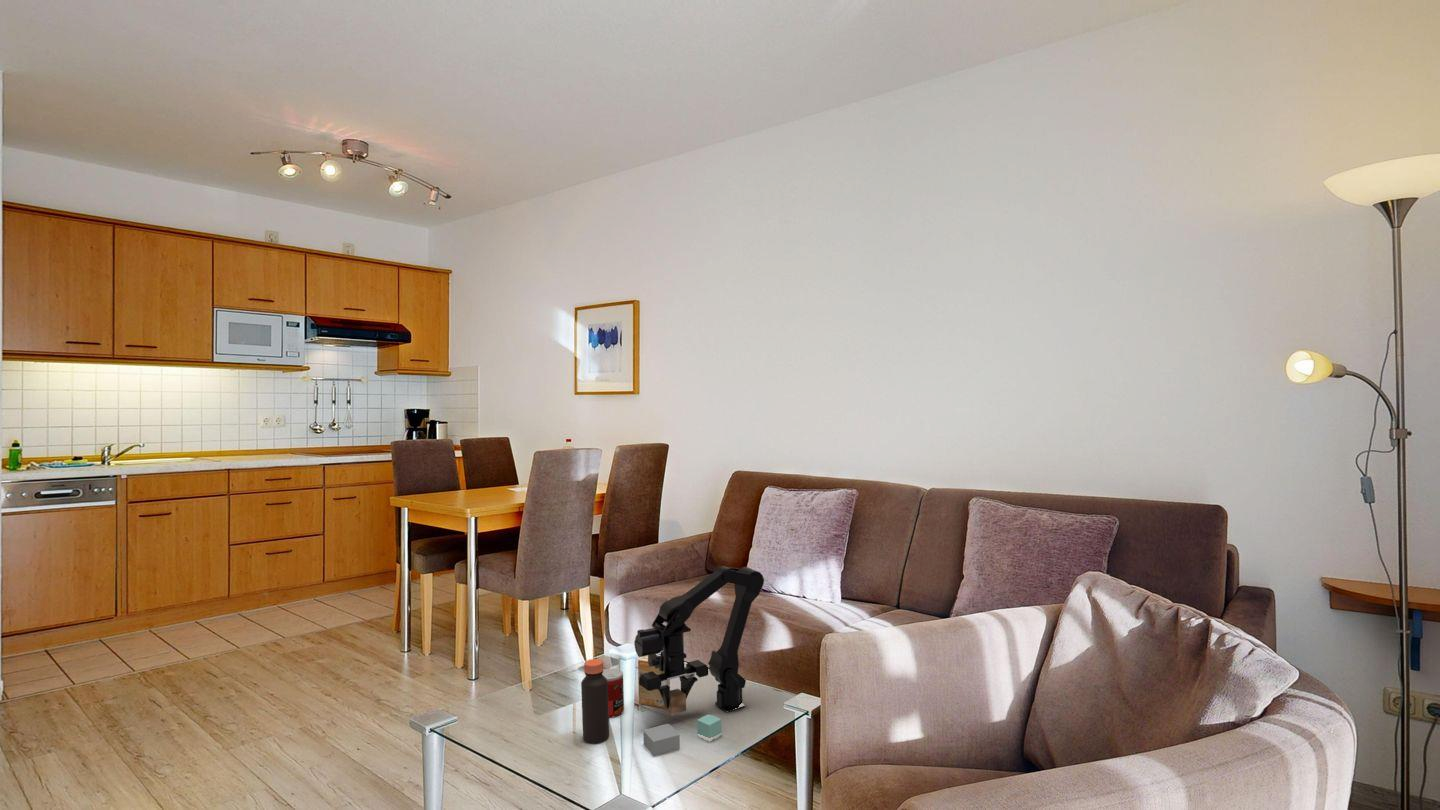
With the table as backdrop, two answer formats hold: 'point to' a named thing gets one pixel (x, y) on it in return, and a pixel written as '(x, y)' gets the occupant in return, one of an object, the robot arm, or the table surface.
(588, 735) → the bottle
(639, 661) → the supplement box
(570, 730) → the table surface
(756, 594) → the robot arm
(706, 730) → the teal cube
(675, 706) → the walnut cube
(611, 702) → the canned food
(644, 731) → the slate block
